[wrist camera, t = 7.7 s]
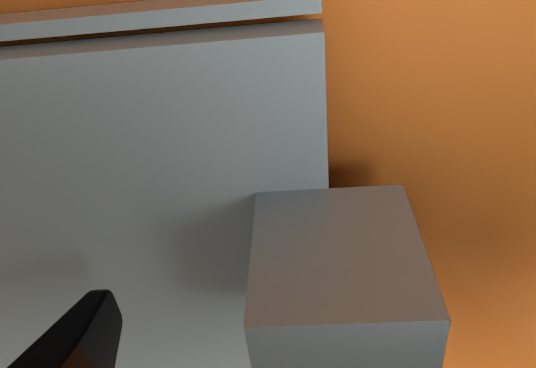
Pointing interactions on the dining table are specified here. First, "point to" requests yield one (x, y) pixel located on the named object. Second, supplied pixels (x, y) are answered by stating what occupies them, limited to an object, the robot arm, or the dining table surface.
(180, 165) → the lid
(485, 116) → the dining table surface
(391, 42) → the dining table surface
